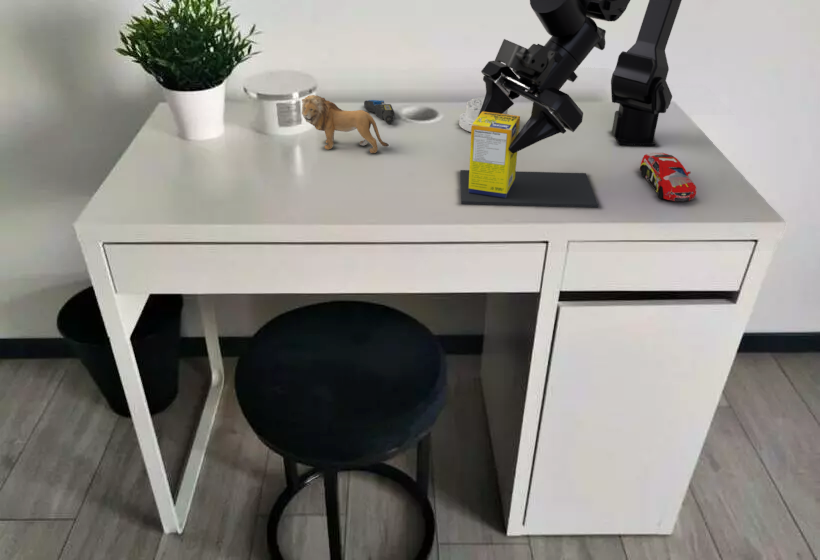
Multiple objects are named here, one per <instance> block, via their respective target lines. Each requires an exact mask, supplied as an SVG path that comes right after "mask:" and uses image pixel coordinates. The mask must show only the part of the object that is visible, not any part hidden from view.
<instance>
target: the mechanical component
mask: <svg viewBox="0 0 820 560" xmlns="http://www.w3.org/2000/svg"><path fill="white" fill-rule="evenodd" d="M484 99H485V96H479V97H476V98H471V100H467V101H466V110H465V112H462V113H461V114H460V115H459V116H458V124H459V127H460V128H462V129H463V130H465V131H467V132H469V133H471V128H472V124H473V122H474V121H475V120H476V119H477V117H478V115H479V113H480V110H481V107H482V105H483V102H484ZM508 110H509V109H507V110H506V111H505V112H504V113H502V114H507V115H510V114H509V113H508V112H509V111H508Z"/></svg>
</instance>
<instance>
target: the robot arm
mask: <svg viewBox="0 0 820 560" xmlns="http://www.w3.org/2000/svg"><path fill="white" fill-rule="evenodd" d="M630 2H631V0H529V5H530V7H531V9H532V11H533V13H534V14H535V16H536V17H537V19H538V20H539V22H540V24H541V25H542V27H543V29H544V30H545V32H546V33H547V34H548V35H550V36H551V37H550V38H549V39H548V40H547V41H546V43H545V44H544V45H543V44H540V43H537V44H536V43H532V44H531V45H530V47H528V48H527V47H524V46H522V45H520V44H517V43H515V42H512V41H510V40H508V39H506V38H503V39H502V42H501V45H500V47H499V50H498V51H497V54H496V56H495V58H494V60H489V61H488V62H487V63H486V64H485V66H483V68H482V69H481V71H480V73H481V75H483V77H482V80H483V82H484V84H485V95H484V97H485V99H484V102H483V105H482V107H481V110H480V113H479V115H480V114H481V112H482V111H484V112H491V113H499V114H502V113H504V112H505V111H506V110H507V109H508V110H509V109H510V108H511V107H512V106H513V105H515V103H514V101H513V100H516V99H518V98H519V97H520V96H521V97H522V98H525V99H526V100H529V101H531V102H532V107H531V113H530V117H529V118H528V120H527V121H526V123H525V124H524V125H523V126H522V128H521V129H520V130H519V133H518V135H517V136H516V137H515V139H514V140H513V142H512V143H511V145H510V147H509V148H508V150H509V151H510V152H511V153H516V152H517V153H518V152H519V151H522V150H524V149H526V148H528V147H530V146H532V145H534V144H537V143H539V142H541V141H542V140H545V139H548V138H550V137H553V136H555V135H558V134H562V135H563V134H565V133H566V132H567V130H568V131H570V132H572V133H575V131H576V130H577V129H578V128H579V126H580V125H581V124H582V123H583V118H584V112H583V110H582V109H581V108H580V107H579V106H578V104H576V102H575V101H574V100H573V98H572V97H571V96H570V95H569V93H566V92H564V91H562V90H561V88H562V87H563V86H564V85H565V84H566V82H567V81H569V82H572V83H574V82H576V80H577V79H578V77H579V76H578V75H577V73H575V72H576V70H577V69H578V68H579V66H580V65H581V64H582V63H583V61H584V60H585V59H586V58H587V57H588V55H589V54H590V53H591V52H592V51H593V49H594V48H596V49H598V50H600V51H604V49H605V48H606V37H605V36H606V33H607V31H606V29H604V28H602V27H599V26H598V25H597V23H596V21H595V20H600V21H604V22H616V21H617V20H619V19H620V17H622V15H623V14H624V13H625V12H626V10H627V9H628V6H629V4H630ZM681 4H682V0H648V3H647V6H646V9H645V13H644V15H643V18H642V21H641V24H640V27H639V32H638V34H637V37H636V40H635V43H634V44H633V45H632V46H631V47H630V48H629V49H628V50H627V51H624V50H623V51H621V52H620V53H619V55H618V56H617V61H616V65H615V68H614V70H613V72H612V75H611V79H610V91H611V92H610V93H611V94H610V95H611V103H613V104H618V110H615V112H614V115H613V116H614V117H613V121H612V128H611V134H612V136H613V137H614V139H615V140H616V143H617V145H619V146H642V147H643V146H645V147H646V146H647V147H655V146H657V142H656V139H655V136H656V129H657V126H658V125H657V124H658V120H659V115H660V114H665V113H667V110H668V109H669V107H670V105H671V102H672V99H673V94H672V91H671V89H670V87H669V85H668V83H667V77H668V74H669V70H670V68H669V64H668V58H667V53H666V48H667V46H668V42H669V40H670V36H671V33H672V30H673V27H674V24H675V22H676V19H677V16H678V13H679V9H680V6H681ZM594 19H595V20H594ZM479 115H478V116H479Z"/></svg>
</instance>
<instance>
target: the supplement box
mask: <svg viewBox="0 0 820 560" xmlns="http://www.w3.org/2000/svg"><path fill="white" fill-rule="evenodd" d="M507 114H508V113H507ZM507 114H499V113H491V112H484V111H482V112H481V114H480V115H479V116H478V117H477V119H476V120H475V121H474V122H473V124H472V128H471V132H470V148H469V169H468V170H469V193H475V194H482V195H489V196H495V197H502V198H506V197H507V195H508V194H509V192H510V190H511V188H512V186H513V184H514V182H515V172H516V171H517V159H518V152H516V153H511V152H510V151H509V150H508V148H509V147H510V145H511V143H512V142H513V140H514V139H515V137H516V136H517V135H518V133H519V132H520V123H521V116H520V115H515V114H514V115H513V114H509V115H507Z"/></svg>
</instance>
